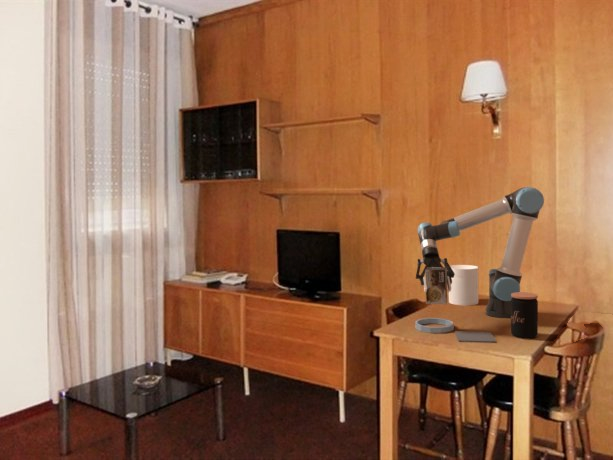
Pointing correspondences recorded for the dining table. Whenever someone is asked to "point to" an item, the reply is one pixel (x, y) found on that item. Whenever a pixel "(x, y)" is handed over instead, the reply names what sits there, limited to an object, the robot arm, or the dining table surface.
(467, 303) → the canister
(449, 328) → the faceted grey ring
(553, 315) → the dining table surface
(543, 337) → the dining table surface
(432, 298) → the coffee box
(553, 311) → the dining table surface
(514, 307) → the coffee jar
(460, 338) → the rubber mat
